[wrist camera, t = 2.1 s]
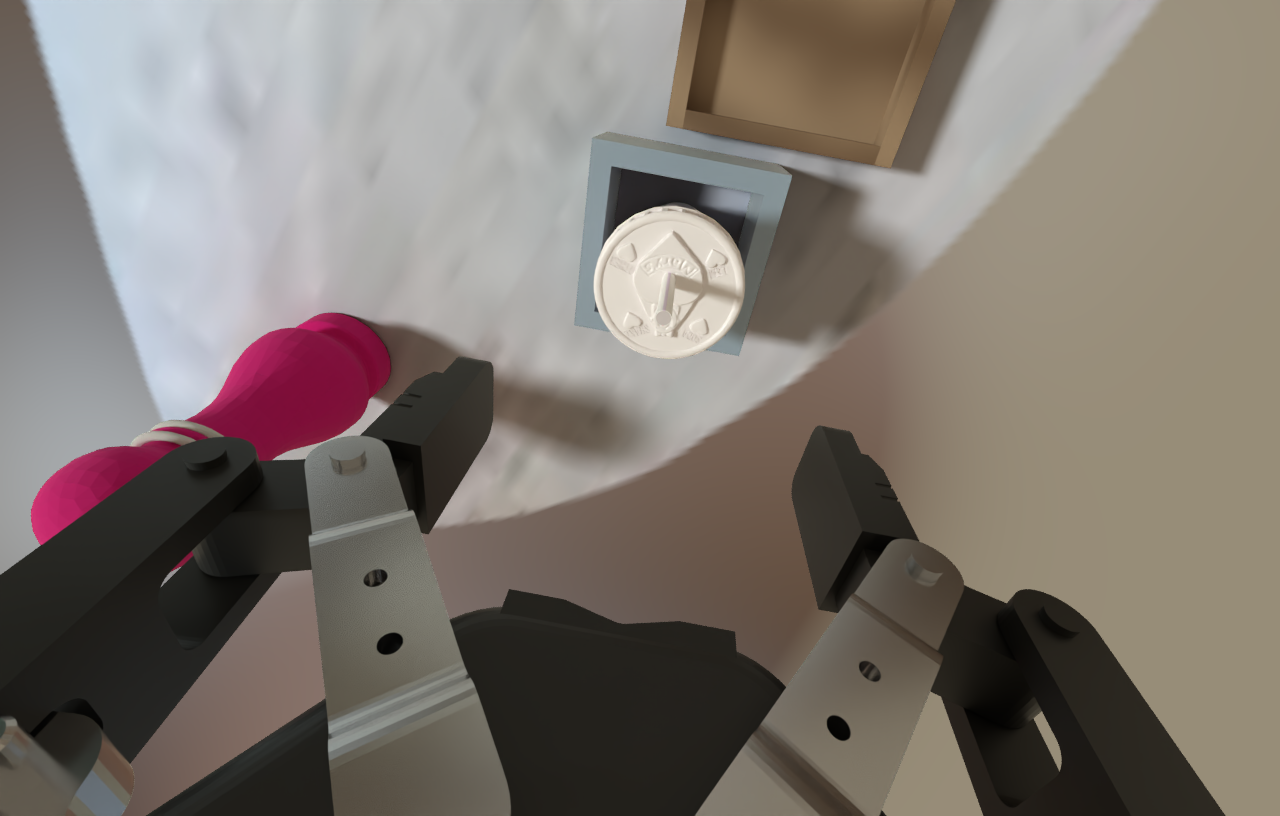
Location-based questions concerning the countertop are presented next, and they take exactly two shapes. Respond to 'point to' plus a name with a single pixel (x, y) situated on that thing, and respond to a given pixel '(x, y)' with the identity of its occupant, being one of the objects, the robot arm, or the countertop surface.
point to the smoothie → (669, 282)
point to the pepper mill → (241, 412)
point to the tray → (806, 72)
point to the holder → (688, 165)
